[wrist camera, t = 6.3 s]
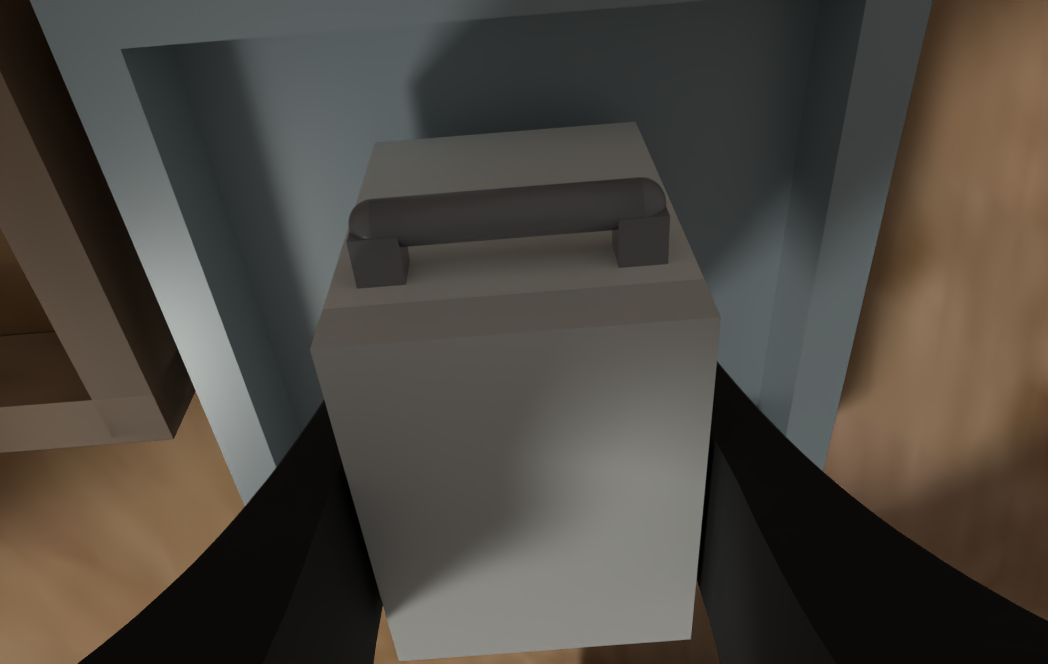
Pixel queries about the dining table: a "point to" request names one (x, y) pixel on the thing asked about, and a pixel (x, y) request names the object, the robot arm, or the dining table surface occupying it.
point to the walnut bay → (73, 274)
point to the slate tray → (479, 108)
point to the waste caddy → (522, 391)
